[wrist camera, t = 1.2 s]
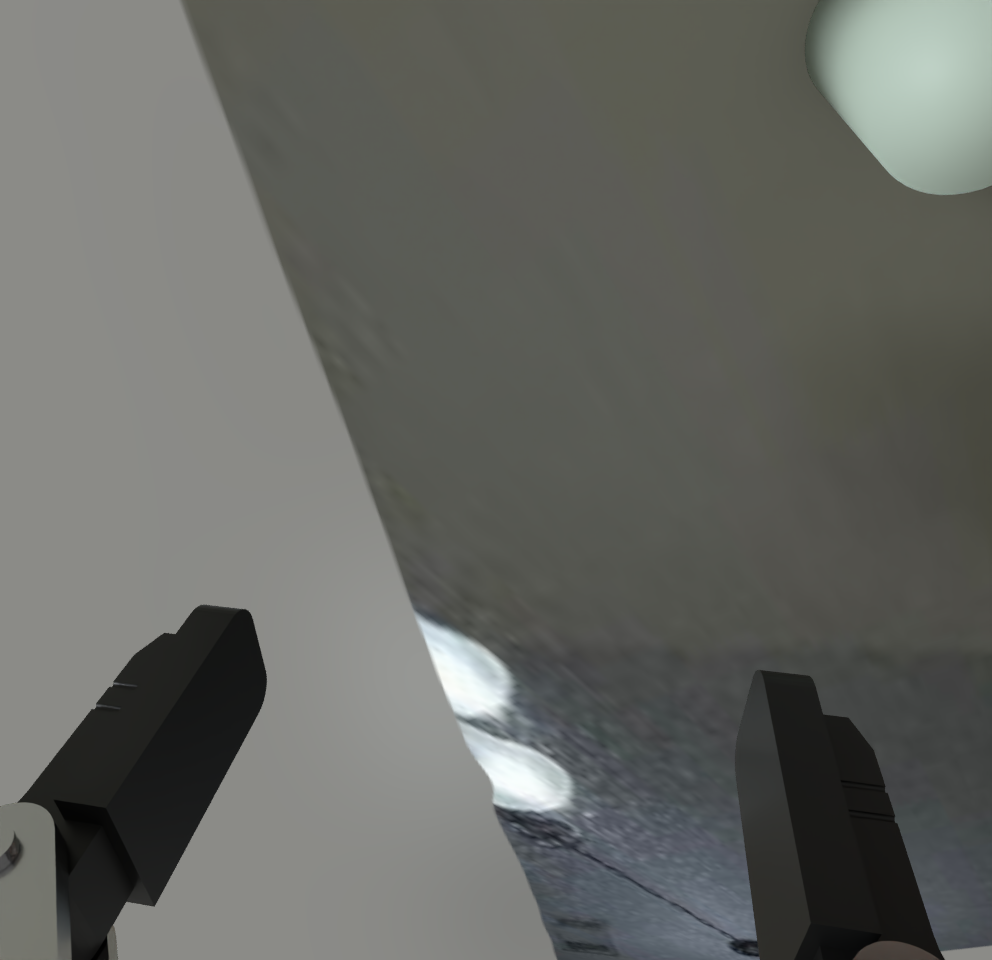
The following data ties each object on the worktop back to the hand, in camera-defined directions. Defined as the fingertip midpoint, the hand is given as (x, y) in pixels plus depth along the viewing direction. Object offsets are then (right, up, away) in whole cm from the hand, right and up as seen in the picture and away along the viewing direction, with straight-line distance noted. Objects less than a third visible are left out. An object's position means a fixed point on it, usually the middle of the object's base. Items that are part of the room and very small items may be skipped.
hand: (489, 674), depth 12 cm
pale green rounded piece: (+12, +17, +11) cm, 24 cm away
